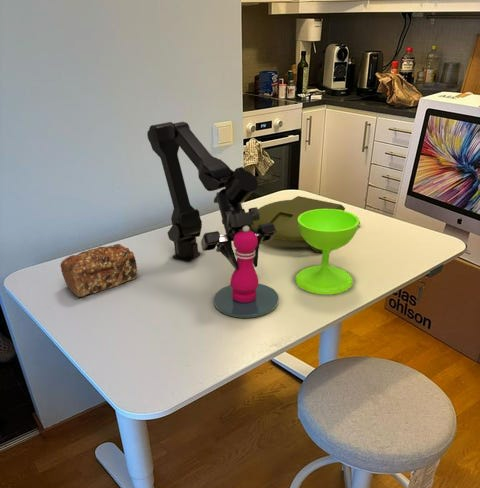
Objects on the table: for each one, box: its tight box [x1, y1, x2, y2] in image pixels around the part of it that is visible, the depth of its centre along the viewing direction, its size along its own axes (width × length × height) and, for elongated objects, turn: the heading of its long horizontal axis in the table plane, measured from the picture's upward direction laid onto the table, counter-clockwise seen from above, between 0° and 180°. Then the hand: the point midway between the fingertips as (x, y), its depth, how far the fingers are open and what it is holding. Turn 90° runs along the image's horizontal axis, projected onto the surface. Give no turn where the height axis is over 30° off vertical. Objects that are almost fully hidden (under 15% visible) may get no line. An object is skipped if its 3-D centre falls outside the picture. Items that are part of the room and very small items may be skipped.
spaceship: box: [249, 195, 361, 253], centre depth 165 cm, size 35×31×10 cm
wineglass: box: [295, 209, 360, 296], centre depth 134 cm, size 16×16×18 cm
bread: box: [59, 243, 138, 298], centre depth 139 cm, size 19×11×10 cm, turn 127°
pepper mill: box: [229, 225, 259, 303], centre depth 124 cm, size 7×7×20 cm
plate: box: [213, 282, 280, 319], centre depth 130 cm, size 17×17×1 cm
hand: (246, 268), depth 124 cm, fingers closed on pepper mill, 4 cm apart
